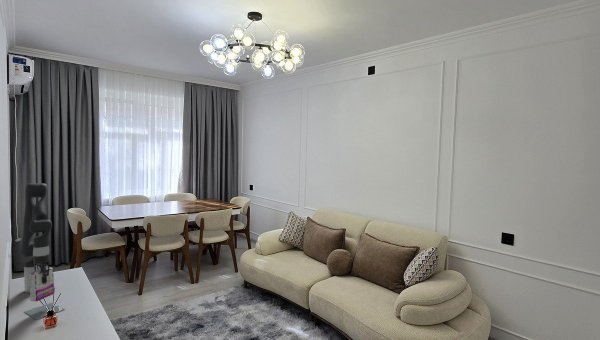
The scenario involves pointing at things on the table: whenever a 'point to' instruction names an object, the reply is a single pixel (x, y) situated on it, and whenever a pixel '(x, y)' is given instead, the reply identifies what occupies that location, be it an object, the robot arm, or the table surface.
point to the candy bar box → (41, 285)
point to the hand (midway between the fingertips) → (41, 281)
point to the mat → (41, 311)
